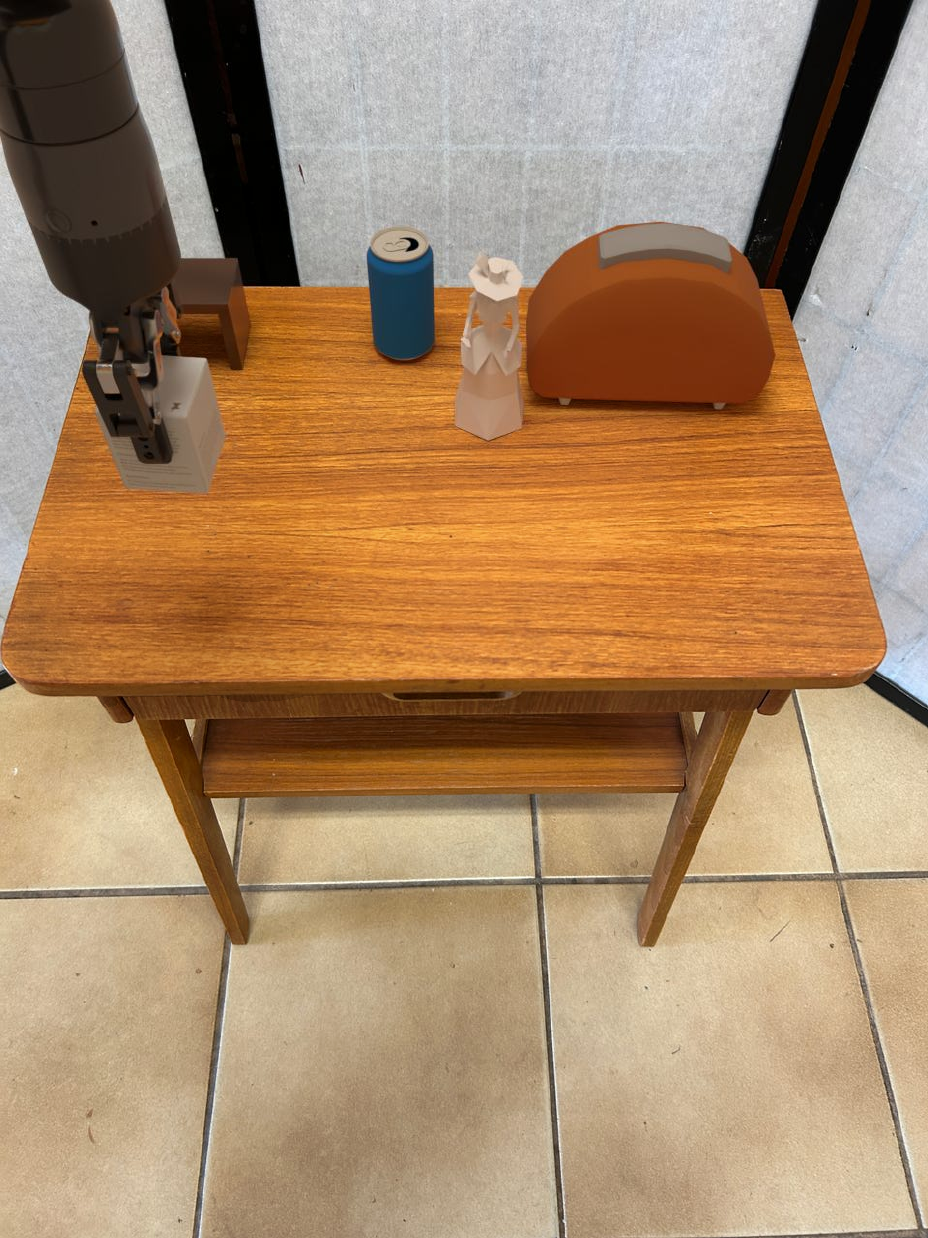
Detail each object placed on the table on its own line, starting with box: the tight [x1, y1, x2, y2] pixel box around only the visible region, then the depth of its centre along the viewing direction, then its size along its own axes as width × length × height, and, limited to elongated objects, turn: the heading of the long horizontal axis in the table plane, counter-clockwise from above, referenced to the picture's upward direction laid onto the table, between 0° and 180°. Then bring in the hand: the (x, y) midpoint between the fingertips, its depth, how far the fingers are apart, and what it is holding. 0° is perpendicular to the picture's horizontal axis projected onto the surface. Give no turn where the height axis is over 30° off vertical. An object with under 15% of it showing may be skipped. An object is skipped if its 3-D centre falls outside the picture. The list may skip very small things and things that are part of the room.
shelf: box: [175, 257, 252, 371], centre depth 97 cm, size 8×11×8 cm
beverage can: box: [366, 225, 436, 361], centre depth 96 cm, size 6×6×12 cm
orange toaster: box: [525, 221, 776, 410], centre depth 91 cm, size 23×9×17 cm, turn 88°
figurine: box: [454, 251, 525, 442], centre depth 87 cm, size 7×8×18 cm
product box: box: [94, 355, 227, 495], centre depth 65 cm, size 6×6×7 cm
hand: (165, 423), depth 65 cm, fingers closed on product box, 6 cm apart
